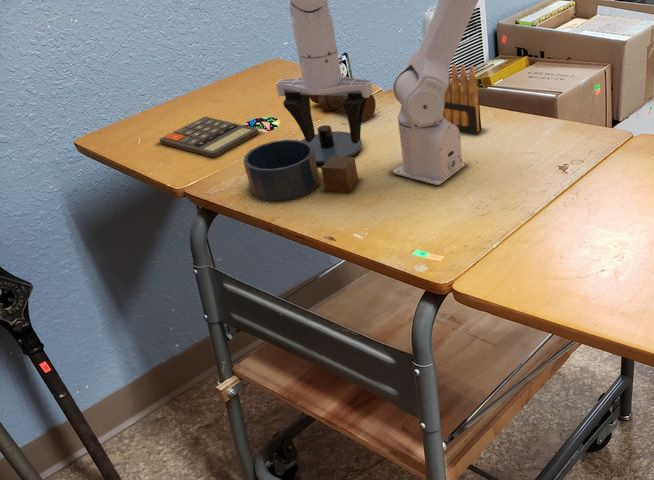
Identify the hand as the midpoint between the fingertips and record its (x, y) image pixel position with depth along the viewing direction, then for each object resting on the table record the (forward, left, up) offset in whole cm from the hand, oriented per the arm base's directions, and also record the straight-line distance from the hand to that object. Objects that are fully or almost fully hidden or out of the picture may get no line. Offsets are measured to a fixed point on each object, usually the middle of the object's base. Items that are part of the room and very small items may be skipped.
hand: (333, 140), depth 112 cm
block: (0, 0, -8) cm, 8 cm away
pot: (+9, +4, -8) cm, 12 cm away
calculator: (+36, -3, -8) cm, 37 cm away
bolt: (+21, -24, -8) cm, 33 cm away
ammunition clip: (-4, -27, -8) cm, 28 cm away
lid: (+11, -9, -7) cm, 16 cm away
